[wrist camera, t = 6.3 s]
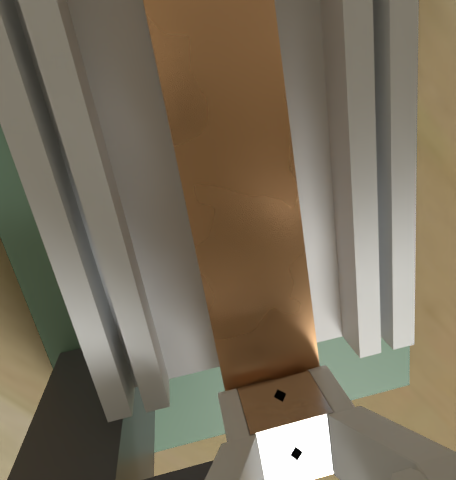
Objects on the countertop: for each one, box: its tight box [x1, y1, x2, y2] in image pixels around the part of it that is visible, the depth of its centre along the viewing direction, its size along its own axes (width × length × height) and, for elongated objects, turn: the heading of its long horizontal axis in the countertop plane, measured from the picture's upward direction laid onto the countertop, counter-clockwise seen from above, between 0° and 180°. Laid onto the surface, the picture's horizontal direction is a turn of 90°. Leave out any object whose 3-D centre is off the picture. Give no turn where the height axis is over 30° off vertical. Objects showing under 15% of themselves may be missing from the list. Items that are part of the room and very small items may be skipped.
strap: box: [143, 0, 333, 480], centre depth 9 cm, size 17×3×1 cm, turn 9°
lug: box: [7, 348, 213, 480], centre depth 13 cm, size 4×6×8 cm
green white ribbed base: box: [0, 0, 419, 452], centre depth 11 cm, size 26×16×8 cm, turn 9°
